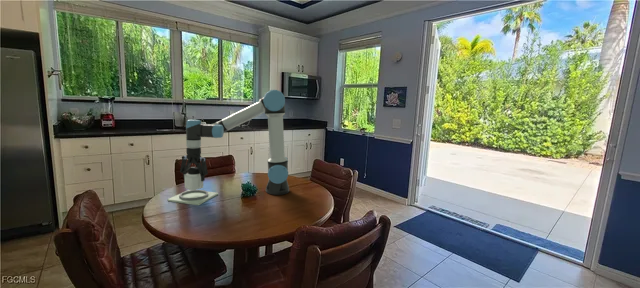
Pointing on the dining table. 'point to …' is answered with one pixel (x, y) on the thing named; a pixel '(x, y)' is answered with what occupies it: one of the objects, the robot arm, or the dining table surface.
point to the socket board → (193, 197)
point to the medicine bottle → (192, 179)
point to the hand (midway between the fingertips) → (194, 185)
